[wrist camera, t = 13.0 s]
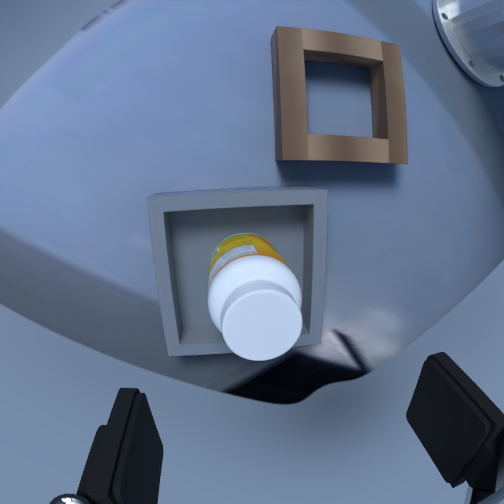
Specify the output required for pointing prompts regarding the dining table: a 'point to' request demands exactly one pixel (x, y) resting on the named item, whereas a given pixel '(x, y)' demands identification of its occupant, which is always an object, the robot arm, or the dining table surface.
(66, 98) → the dining table surface
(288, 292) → the supplement bottle
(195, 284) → the tray
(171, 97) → the dining table surface
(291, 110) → the socket block
